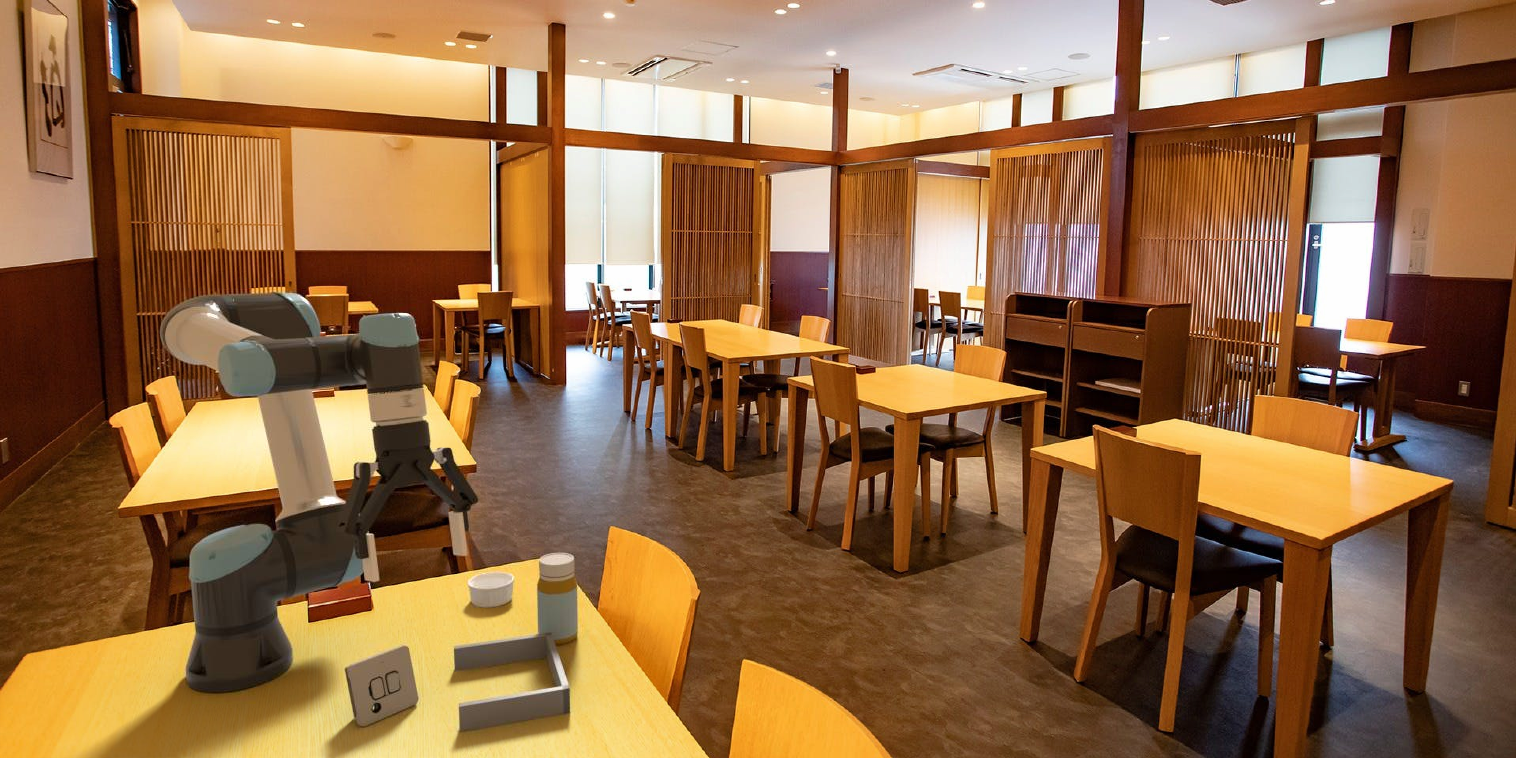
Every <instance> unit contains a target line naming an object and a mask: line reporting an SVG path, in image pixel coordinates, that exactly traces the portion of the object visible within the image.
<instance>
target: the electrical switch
mask: <svg viewBox="0 0 1516 758" xmlns="http://www.w3.org/2000/svg"><path fill="white" fill-rule="evenodd" d="M344 672H345V679H346V683H347V688H348V693H349V699H350V703H351V708H352V714H353V718H354V719H356V723H357V725H358V726H360V727H367V726H369V725H372V724H374V723H376V722H379V721H381V720H383V719H386V718H388V717H390V716H392V715H395V714H396V713H399V712H401V711H403V710H407V709H408V708H410V707H413V706H415V705H417V704H418V702H419V698H420V697H419V693H418V689H417V684H416V678H415V673H414V668H413V662H412V658H411V652H410V648H409V646H407V645H404V644H402V645H398V646H396V647H392V648H391V649H388V650H385V651H383V652H380V653H377V654H374V655H372V656H369V657H367V658H363V659H361V660H358V661H356V662H353V663H350V664H349V665H348V666H345V667H344Z"/></svg>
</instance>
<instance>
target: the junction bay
mask: <svg viewBox="0 0 1516 758" xmlns="http://www.w3.org/2000/svg"><path fill="white" fill-rule="evenodd" d="M543 658H546V660H547V663H548V667H549V669H550V673H551V677H552V681H553V683H554V687H549V688H542V689H537V690H531V691H525V692H518V693H513V694H506V695H500V696H495V697H489V698H482V699H476V700H472V701H471V700H470V701H463V702H458V720H459V721H458V722H459V723H458V724H459V725H458V726H459V733H463V732H468V731H473V730H478V729H484V728H489V727H490V728H491V727H496V726H501V725H506V724H507V725H508V724H512V723H517V722H524V721H531V720H536V719H541V718H545V717H552V716H558V715H563V714H569V713H571V688H570V684H569V682H568V678H567V676H566V674H565V673H566V672H565V670H564V667H563V664H562V661H561V658H560V654H559V652H558V649H557V645H555V642H554V639H553V636H552V633H551V632H550V633H543V634H538V633H537V634H536V633H535V634H529V635H523V636H515V637H510V638H509V637H508V638H502V639H495V640H487V641H480V642H475V643H466V644H461V645H455V646H453V662H454V664H453V665H454V672H458V671H459V672H461V671H467V670H472V669H473V670H474V669H480V668H486V667H491V666H492V667H493V666H498V665H505V664H512V663H518V662H526V661H532V660H539V659H543Z"/></svg>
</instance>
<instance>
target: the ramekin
mask: <svg viewBox="0 0 1516 758" xmlns="http://www.w3.org/2000/svg"><path fill="white" fill-rule="evenodd" d="M514 581H515V576H514V575H513V574H511V573H509V572H504V571H489V572H483V573H479V574H476V575H474V576H472V577H470V579H469V580H468V581H467V586H468V590H469V596H470V602H471V604H472V605H473V606H476V607H478V608H497V607H500V606H502V605H505V604H507V603H508V602H510V601H512V599H513V595H514V594H513V593H514Z"/></svg>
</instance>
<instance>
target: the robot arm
mask: <svg viewBox="0 0 1516 758" xmlns="http://www.w3.org/2000/svg"><path fill="white" fill-rule="evenodd" d="M416 327H417V326H416V321H415V318H414V316H413V315H411V314H409V313H406V312H405V313H404V312H396V313H378V314H369V315H366V316H363V317H361V318H360V320H359V322H358V330H359V331H358V333H355V334H354V333H353V334H342V335H341V334H339V335H324V336H321V333H322V329H321V325H320V320H319V318H318V316H317V313H316V311H315V309H314V307H313V306H312V304H311V303H310V302H309V301H308V299H306V298H305V297H303V296H302V295H301V294H299V293H295V292H294V293H292V292H280V291H279V292H278V291H270V292H260V293H259V292H256V293H254V292H253V293H232V294H231V293H227V294H226V293H225V294H214V293H213V294H212V293H211V294H204V295H199V296H196V297H192V298H189V299H187V300H184V301H182V302H180V303H178V304H176V305H175V306H174V307H173V308H171V309H170V310H168V312H167V313H166V314H165V316H164V317H163V319H162V321H161V324H160V329H159V334H160V335H159V337H160V340H161V343H162V345H163V347H164V348H165V350H166V351H168V353H169V354H170V356H171V355H172V356H173V357H174V358H176V359H178V360H179V361H182V362H183V363H186V364H190V365H195V366H196V365H197V366H199V365H200V366H202V365H204V366H206V367H208V368H211V369H212V370H215V371H216V372H218V376H219V380H220V383H221V386H223V388H224V391H225V393H227V394H228V395H229V396H232V397H248V396H249V397H257V400H258V403H259V408H260V412H261V413H260V414H261V417H262V422H263V425H264V426H263V427H264V430H265V435H266V440H267V444H268V448H269V449H268V450H269V453H270V457H271V461H272V467H273V469H274V470H273V472H274V475H275V480H276V484H277V488H278V493H279V496H280V501H281V505H282V509H281V511H280V513H279V515H278V516H277V517H276V518H275V526H276V530H272V528H271V527H270V526H269V525H267V524H262V523H251V524H247V525H246V524H241V525H236V526H232V527H228V528H224V529H221V530H218V531H216V532H213V533H212V534H208V535H207V536H205V537H204V538H202V539H201V540H200V541H198V542H197V543H196V544H195V545H194V546H193V547H192V549H191V551H190V554H189V572H188V579H189V581H190V587H191V596H192V597H191V598H192V608H193V609H192V610H193V618H194V619H193V620H194V628H195V629H194V630H195V631H194V632H195V634H194V638H193V641H192V645H191V648H190V651H189V655H188V659H187V662H186V666H185V677H186V678H185V679H186V684H187V686H188V687H189V688H191V687H192V688H191V689H193V690H195V691H198V692H202V691H205V692H204V693H226V692H227V693H228V692H233V691H234V692H235V691H239V690H244V689H248V688H252V687H255V686H258V685H261V684H264V683H266V682H267V683H268V681H271V680H273V679H275V678H277V677H279V676H280V675H282V674H284V673H285V671H287V670H288V669H289V668H290V667H291V666H292V664H293V661H294V656H293V646H292V644H291V641H290V640H289V637H288V635H287V634H286V631H285V629H284V627H283V625H282V623H281V621H280V619H279V616H278V615H279V614H278V602H279V601H283V600H286V599H289V598H293V597H297V596H301V595H305V594H308V593H312V592H315V591H321V590H323V589H328V588H332V587H338V586H340V585H341V584H344V583H347V582H350V581H353V580H356V579H358V578H360V576H361V575H362V574H364V575H363V576H364V581H367V582H373V583H376V582H379V581H380V572H379V567H378V564H379V563H378V559H377V550H376V541H375V534H373V533H369V532H370V531H369V530H370V528H371V527H372V525H373V524H374V522H375V520H376V519H377V517H378V516H379V514H380V512H381V510H382V509H383V507H384V505H385V504H386V502H387V500H388V498H389V497H390V495H391V494H392V493H393V492H394V491H395V490H396V488H398V489H400V488H401V489H402V488H406V487H408V486H410V485H421V484H422V483H423V484H424V485H426V486H427V487H428V488H429V489H431V490H432V491H433V493H435V494H436V495H437V496H439V498H440V499H442V500H443V502H445V503H446V504H447V505H448V506H450V507H451V508H452V509H453V510H454V511H449V512H448V513H447V514H448V521H449V530H450V537H451V545H452V553H453V555H454V556H460V557H466V556H468V546H467V537H466V532H469V531H470V525H469V524H470V523H469V517H468V512H469V511H470V510H471V508H472V506H473V505H476V504H478V502H479V498H478V496H477V494H476V493H475V491H474V490H473V488H472V487H471V485H470V483H469V481H467V478H466V476H465V475H464V474H463V472H462V471H461V469H460V468H459V466H458V464H457V463H456V461H455V458H454V454H453V453H454V452H453V450H452V448H451V447H438V448H437V449H436V450H433V451H432V447H431V442H432V440H431V434H430V427H429V426H430V424H429V421H427V419H424V417H426V416H427V415H428V413H427V403H426V396H425V395H426V394H425V388H424V379H423V371H422V370H423V369H422V362H421V361H422V359H421V351H420V344H419V343H420V337H419V335H418V332H417V328H416ZM357 385H358V386H362V385H363V386H364V385H366V393H367V400H368V410H369V417H370V418H369V419H370V421H371V422H372V423H375V426H373V428H371V431H372V441H373V446H374V447H373V448H374V449H373V450H374V452H375V455H376V456H375V461H373V462H364V461H362V462H360V461H358V462H357V461H356V462H354V464H353V480H352V482H351V486H350V489H349V492H348V494H347V496H346V497H347V498H346V500H344V499H342V498H340V497H339V496H338V495H337V492H336V487H335V483H334V479H333V474H332V470H331V466H330V462H329V458H328V452H327V450H326V444H325V441H324V436H323V432H322V427H321V424H320V420H319V415H318V411H317V406H316V402H315V398H314V393H313V390H317V389H327V388H336V387H347V386H357ZM434 462H436V464H439V466H440V468H441V470H442V472H443V473H444V475H445V476H446V478H447V479H448V481H449V483H450V484H451V485H452V487H453V488H454V490H455V491H454V490H453V489H452V488H451V487H450V486H448V485H447V484H446V483H445V481H443V480H442V479H441V478H440V476H439V475H438V474H437V473H436V472H435V471H434V470H433V469H432V468H431V467H432V466H433V464H434ZM375 472H376V473H377V474H378V475H380V478H379V479H378V480H377V482H376V483H375V485H374V490H373V492H372V493H371V495H370V496H369V498H368V499H367V502H366V503H365V505H364V506H363V504H364V502H365V498H366V495H367V492H368V490H369V489H368V488H369V487H370V483H371V478H372V477H374V474H375ZM362 507H363V509H362Z"/></svg>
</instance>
